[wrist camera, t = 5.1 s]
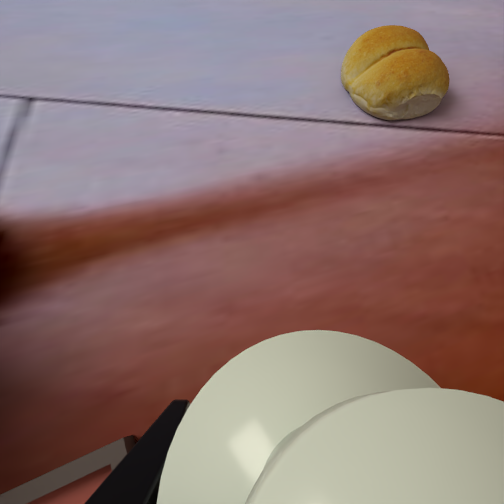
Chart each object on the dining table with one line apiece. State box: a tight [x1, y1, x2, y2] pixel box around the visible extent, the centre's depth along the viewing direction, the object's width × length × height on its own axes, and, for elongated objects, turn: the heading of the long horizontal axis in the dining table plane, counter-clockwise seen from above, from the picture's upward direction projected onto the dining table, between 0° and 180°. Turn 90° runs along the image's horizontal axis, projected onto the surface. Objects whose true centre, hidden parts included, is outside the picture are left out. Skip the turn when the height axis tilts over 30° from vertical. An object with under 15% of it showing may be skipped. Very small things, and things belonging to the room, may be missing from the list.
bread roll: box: [341, 25, 449, 120], centre depth 27 cm, size 8×9×4 cm
